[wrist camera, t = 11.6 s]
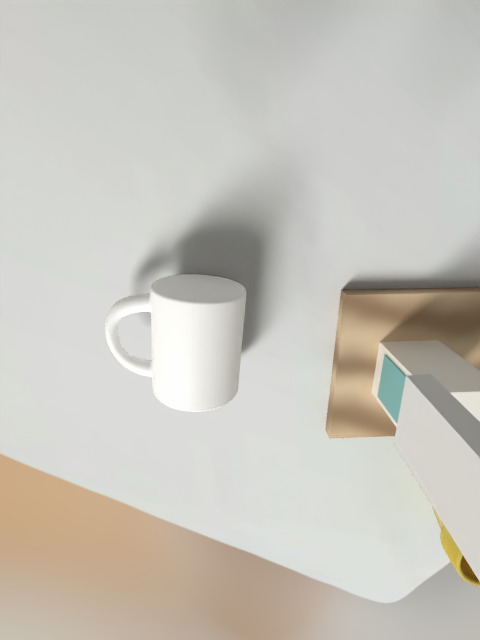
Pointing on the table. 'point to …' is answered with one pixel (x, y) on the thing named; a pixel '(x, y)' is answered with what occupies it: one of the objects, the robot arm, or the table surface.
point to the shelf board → (385, 326)
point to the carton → (423, 358)
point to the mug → (187, 339)
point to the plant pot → (456, 555)
